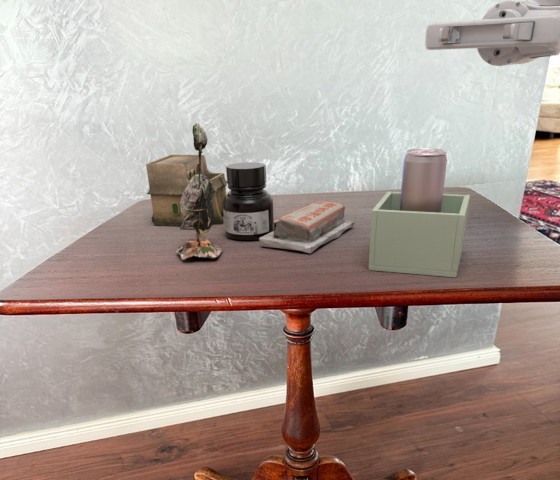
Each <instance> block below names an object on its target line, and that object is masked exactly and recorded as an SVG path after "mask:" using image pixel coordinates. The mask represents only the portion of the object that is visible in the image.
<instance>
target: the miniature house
mask: <svg viewBox="0 0 560 480" xmlns="http://www.w3.org/2000/svg"><path fill="white" fill-rule="evenodd" d="M207 165H208V164H207V159H206V155H204V154H201V167H200V169H201V172H200V173H201V174H203V175H205V176H207V177H208V179H209V181H210V183H211V189H212V207H213V211H214V212H213V214H214V218H213V223H212V226H213V225H224V213H223V199H224V197H225V196H226V195H227V186H228V184H227V179H226V176H225V172H211V171H210V170H209V169H208V166H207ZM145 167H146V174H147V181H148V188H149V189H148V191H147V192H146V195H150V200H151V208H152V216H151V222H153V226H161V227H179V228H180V230H194V231H196V229H195V228H193V227H191V226H189V225H188V224H187V223H186V222H185V221H184V218H183V216H182V213H181V204H180V202H181V197H182V195H183V192H184V191H185V189H186V187H187V185H188V182H189V181H190V180H191V179H192V177H193V176H195V175H196V174H199V157H198V154H168V155H166V156H163V157H161V158H158V159H155V160H153V161H150V162H148V163H146V164H145ZM208 173H209V174H208Z"/></svg>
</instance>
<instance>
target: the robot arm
mask: <svg viewBox="0 0 560 480" xmlns="http://www.w3.org/2000/svg"><path fill="white" fill-rule="evenodd" d="M424 46H425V47H424V48H425V49H426V50H427V51H443V50H444V51H446V50H447V51H448V50H470V49H471V50H472V49H473V50H474V49H476V50H477V53H478V54H479V56H480V58H481V59H482V60H483V61H484V62H485V63H487V64H489V65H491V66H493V67H495V66H496V67H503V66H512V65H523V64H528V63H532V62H534V61H536V60H537V59H539V58H546V57H552V56H558V55H560V0H525V1H524V0H523V1H521V0H503V1H500V2H497V3H496V4H494V5H493V6H492V7H491V8H489V9H488V10H487V11H486V13H484V15H483V17H482V18H481V19H470V20H457V21H456V20H455V21H439V22H431V23H429V24H428V25H427V26H426V28H425V37H424Z"/></svg>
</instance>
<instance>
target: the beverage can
mask: <svg viewBox="0 0 560 480" xmlns="http://www.w3.org/2000/svg"><path fill="white" fill-rule="evenodd" d="M404 155H405V156H404V157H403V161H402V162H403V163H402V175H401V187H400V192H401V198H400V210H399V211H417V212H437V213H441V206H442V198H443V194H444V187H445V181H446V172H447V163H448V158H447V150H446V149H442V148H441V149H440V148H430V147H427V148H425V147H423V148H420V147H419V148H410V149H406V150H405V154H404Z"/></svg>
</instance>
